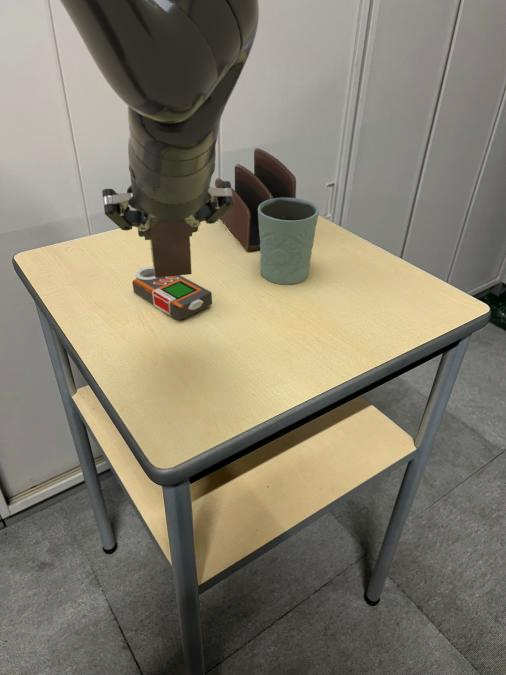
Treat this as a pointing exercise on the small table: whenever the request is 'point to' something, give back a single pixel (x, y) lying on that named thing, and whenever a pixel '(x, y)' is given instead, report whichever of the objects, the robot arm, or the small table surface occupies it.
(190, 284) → the electronic device
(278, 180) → the letter holder
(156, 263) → the walnut block
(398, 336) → the small table surface
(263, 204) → the green cup
